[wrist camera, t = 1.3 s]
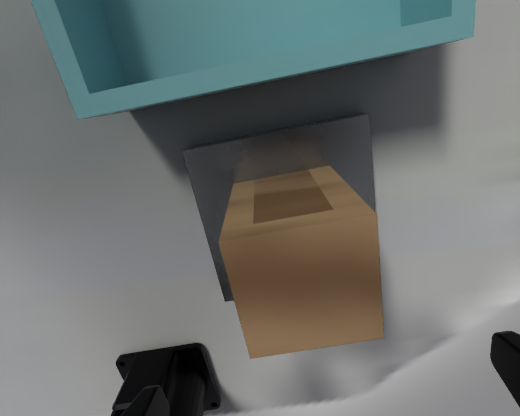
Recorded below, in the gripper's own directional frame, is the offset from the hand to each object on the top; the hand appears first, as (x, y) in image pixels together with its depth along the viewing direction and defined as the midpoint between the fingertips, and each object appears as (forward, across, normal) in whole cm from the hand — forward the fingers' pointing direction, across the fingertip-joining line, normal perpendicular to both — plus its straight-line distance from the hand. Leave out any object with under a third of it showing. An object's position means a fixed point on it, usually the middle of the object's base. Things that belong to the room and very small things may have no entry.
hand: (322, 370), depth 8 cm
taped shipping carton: (+10, 0, 0) cm, 10 cm away
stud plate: (+11, 0, 0) cm, 11 cm away
